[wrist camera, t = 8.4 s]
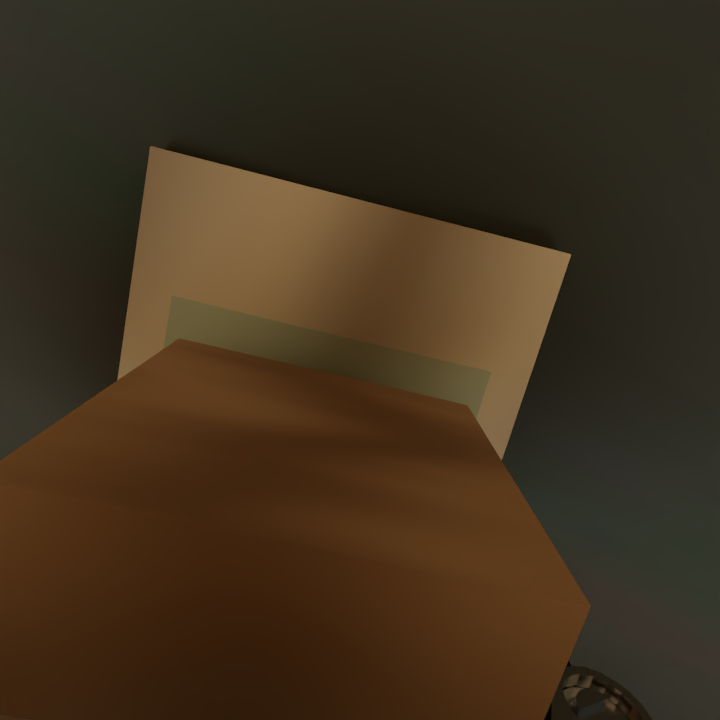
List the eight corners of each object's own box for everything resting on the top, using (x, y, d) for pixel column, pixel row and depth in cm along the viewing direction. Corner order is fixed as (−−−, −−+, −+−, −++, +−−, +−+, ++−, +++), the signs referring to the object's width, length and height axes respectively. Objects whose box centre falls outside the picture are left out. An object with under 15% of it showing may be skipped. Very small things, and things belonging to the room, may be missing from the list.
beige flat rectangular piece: (557, 251, 12) (572, 254, 11) (408, 701, 15) (412, 728, 15) (164, 151, 12) (149, 145, 11) (92, 641, 15) (76, 665, 14)
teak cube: (467, 405, 11) (591, 606, 5) (394, 641, 13) (427, 999, 7) (179, 338, 11) (-26, 478, 5) (137, 590, 12) (-59, 927, 6)
